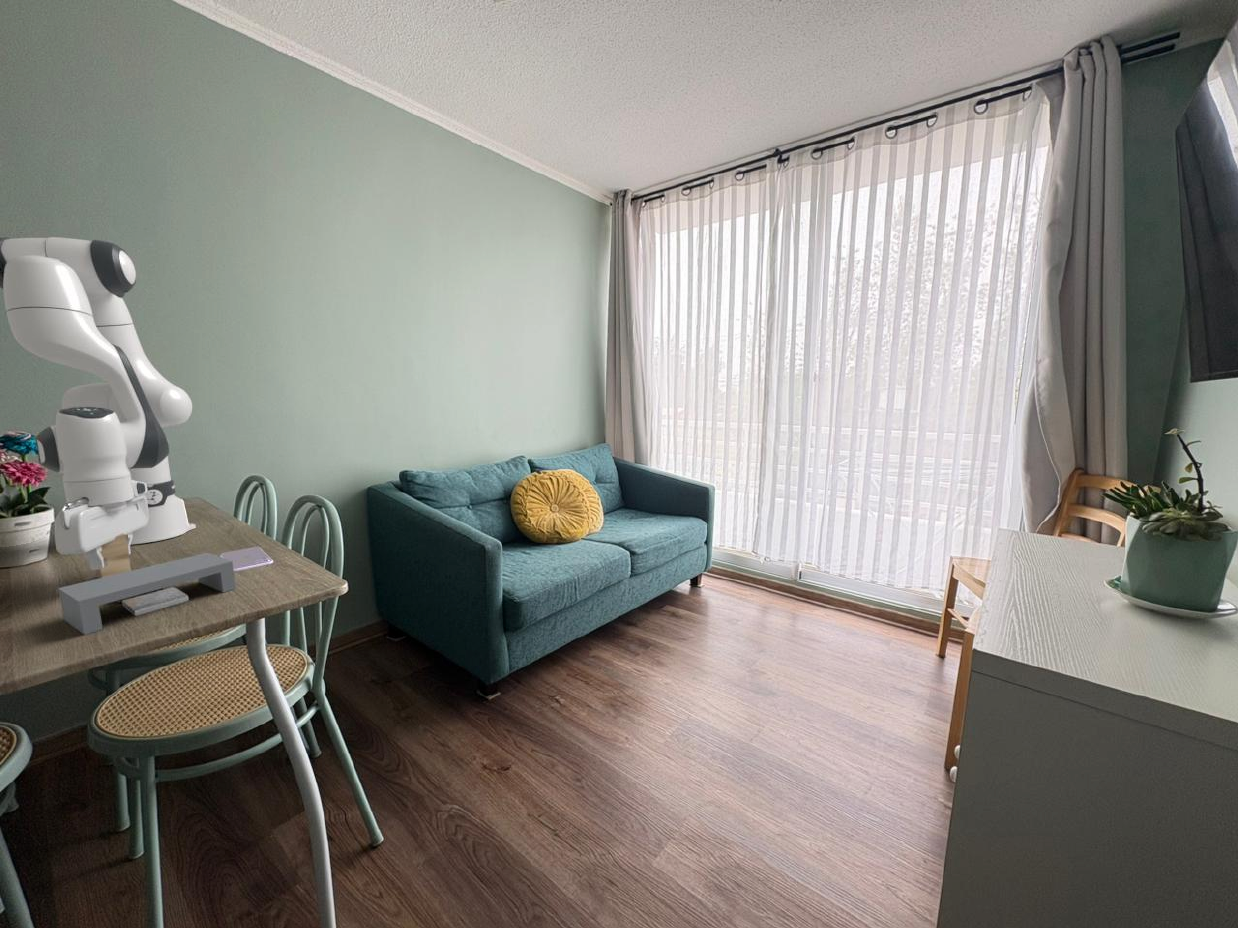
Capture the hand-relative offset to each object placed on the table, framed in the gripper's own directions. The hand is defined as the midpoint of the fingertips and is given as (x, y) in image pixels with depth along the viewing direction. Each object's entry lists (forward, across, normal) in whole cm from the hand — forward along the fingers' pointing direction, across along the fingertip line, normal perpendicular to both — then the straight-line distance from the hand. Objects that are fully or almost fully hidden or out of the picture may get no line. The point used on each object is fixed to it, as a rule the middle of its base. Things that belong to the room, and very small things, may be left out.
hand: (111, 562), depth 94 cm
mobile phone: (+5, +8, -19) cm, 21 cm away
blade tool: (+4, -4, -4) cm, 7 cm away
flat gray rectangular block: (+5, -14, -13) cm, 20 cm away
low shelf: (+4, -14, -13) cm, 20 cm away
